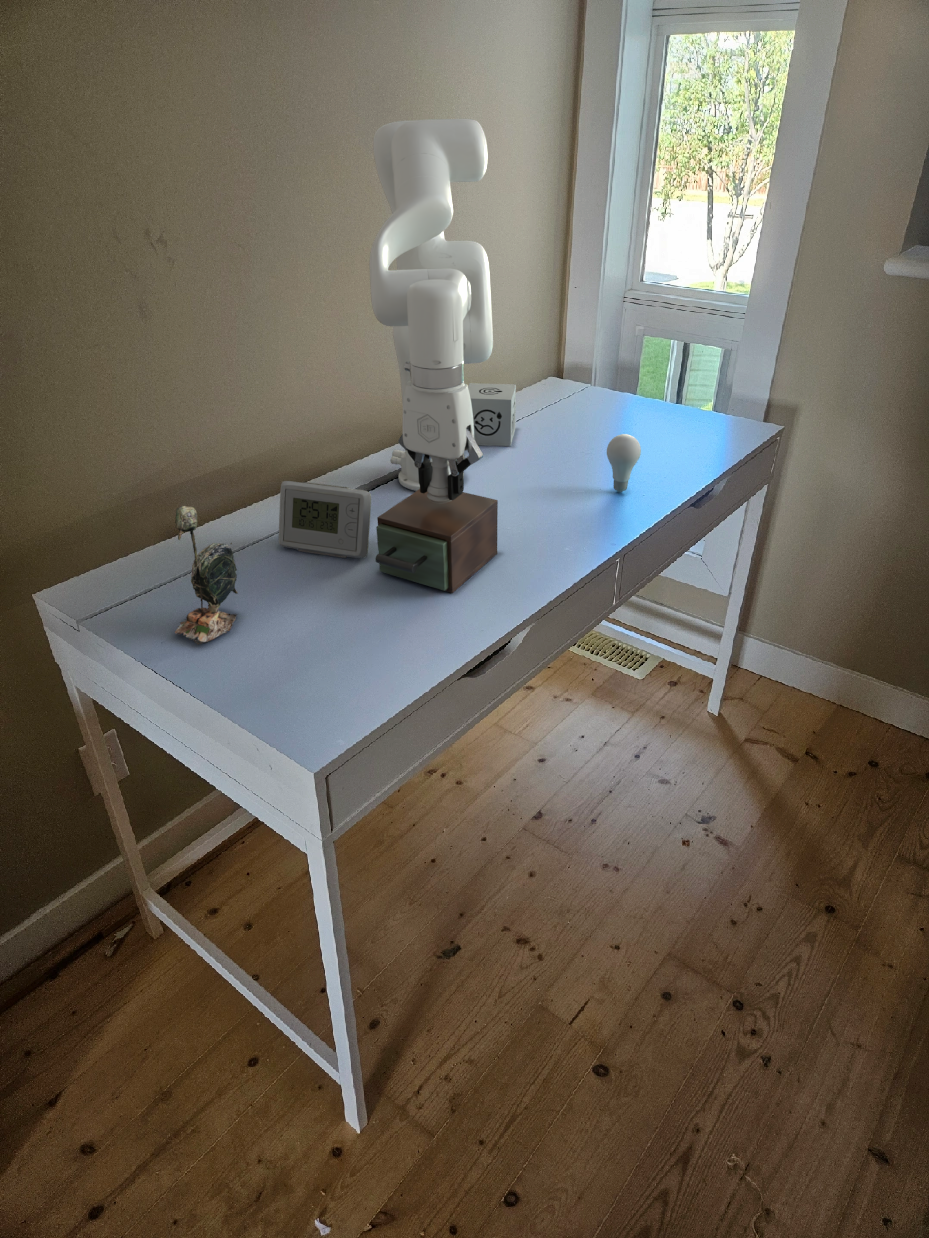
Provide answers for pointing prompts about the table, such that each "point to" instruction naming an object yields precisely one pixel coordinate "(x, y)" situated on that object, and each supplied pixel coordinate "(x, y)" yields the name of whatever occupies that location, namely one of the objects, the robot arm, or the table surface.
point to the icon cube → (493, 413)
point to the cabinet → (452, 529)
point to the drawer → (413, 556)
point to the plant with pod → (207, 583)
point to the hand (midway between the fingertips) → (441, 492)
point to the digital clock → (324, 519)
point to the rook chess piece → (439, 480)
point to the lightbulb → (623, 459)
